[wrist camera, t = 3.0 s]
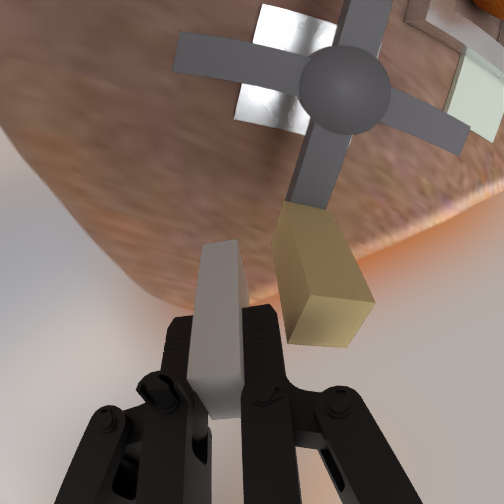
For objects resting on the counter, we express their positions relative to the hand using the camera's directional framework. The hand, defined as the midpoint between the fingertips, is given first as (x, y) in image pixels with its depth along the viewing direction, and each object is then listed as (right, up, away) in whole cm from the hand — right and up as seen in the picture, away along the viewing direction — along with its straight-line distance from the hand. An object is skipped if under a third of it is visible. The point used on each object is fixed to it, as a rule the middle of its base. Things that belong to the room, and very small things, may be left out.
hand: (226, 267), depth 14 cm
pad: (+19, +13, +5) cm, 24 cm away
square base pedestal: (+5, +12, +4) cm, 14 cm away
